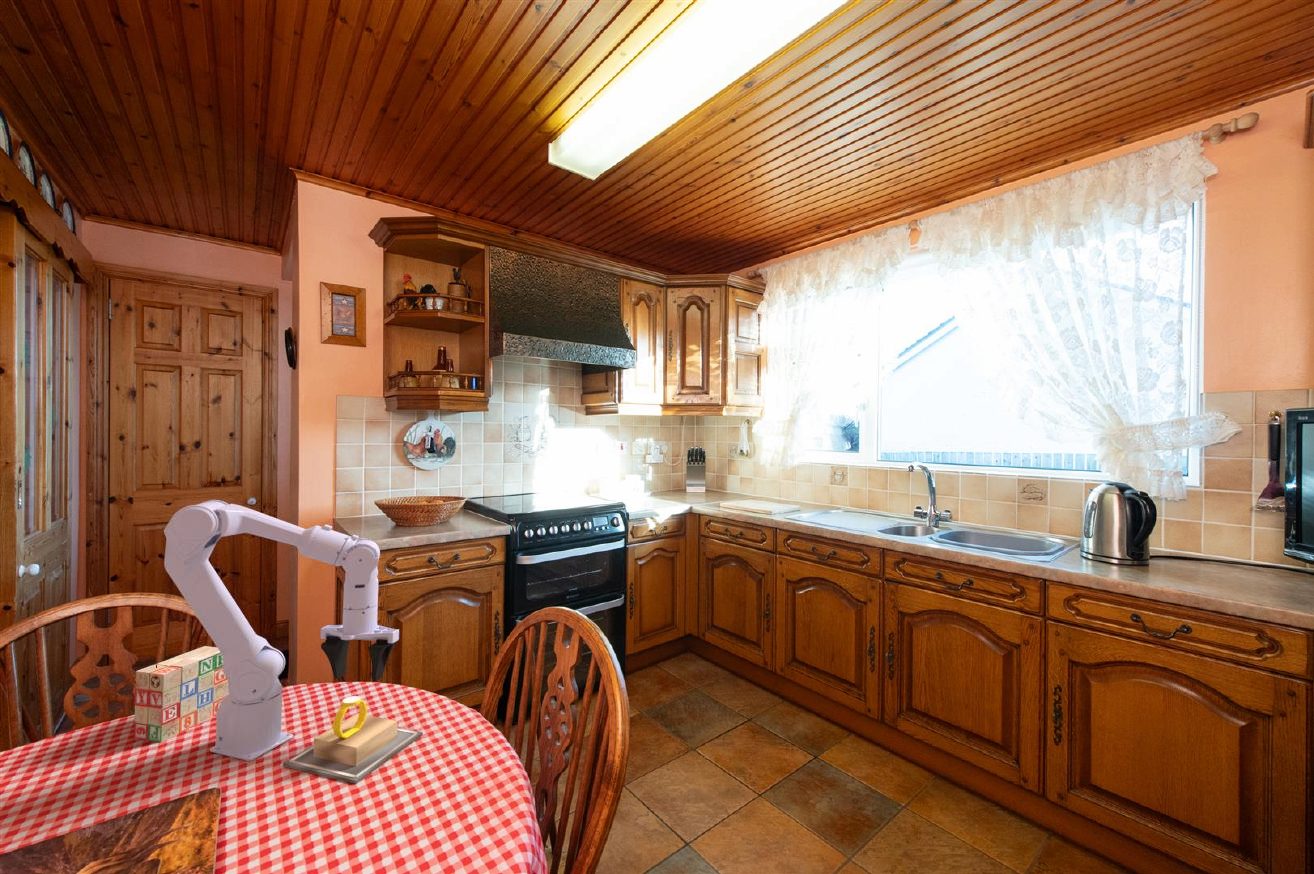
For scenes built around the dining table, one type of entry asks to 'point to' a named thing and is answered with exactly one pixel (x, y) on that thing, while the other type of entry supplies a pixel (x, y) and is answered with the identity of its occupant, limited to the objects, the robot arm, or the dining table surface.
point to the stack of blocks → (178, 694)
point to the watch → (339, 716)
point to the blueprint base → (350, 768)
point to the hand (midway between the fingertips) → (358, 678)
